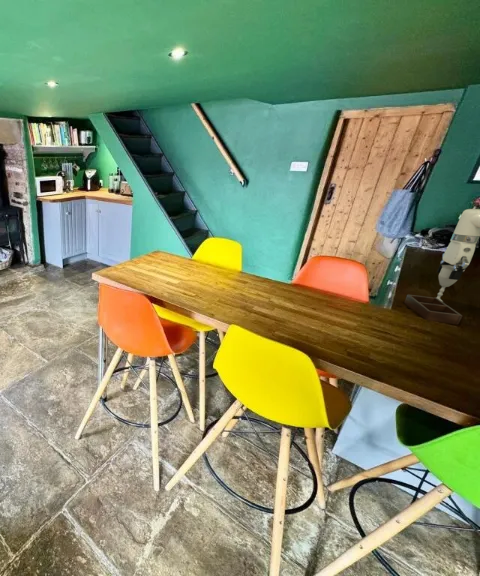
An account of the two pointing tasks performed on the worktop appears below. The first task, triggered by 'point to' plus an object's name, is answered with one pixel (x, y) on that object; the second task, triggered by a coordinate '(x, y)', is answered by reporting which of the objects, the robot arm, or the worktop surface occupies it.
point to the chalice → (445, 279)
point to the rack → (432, 309)
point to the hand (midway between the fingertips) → (447, 276)
